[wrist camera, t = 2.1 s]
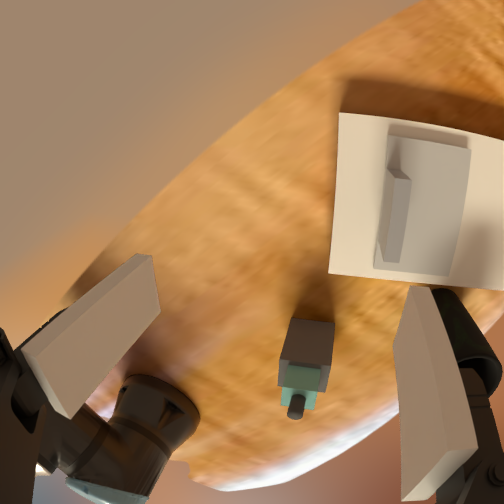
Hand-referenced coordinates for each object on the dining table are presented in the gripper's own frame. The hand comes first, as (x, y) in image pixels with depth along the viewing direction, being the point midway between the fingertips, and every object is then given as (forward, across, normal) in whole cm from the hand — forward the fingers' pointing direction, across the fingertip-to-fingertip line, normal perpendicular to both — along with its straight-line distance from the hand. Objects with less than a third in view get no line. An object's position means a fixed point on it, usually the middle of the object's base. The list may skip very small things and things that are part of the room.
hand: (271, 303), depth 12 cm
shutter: (+16, +9, 0) cm, 19 cm away
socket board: (+20, +11, 0) cm, 23 cm away
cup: (+20, +15, -12) cm, 28 cm away
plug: (+20, +1, -17) cm, 26 cm away
